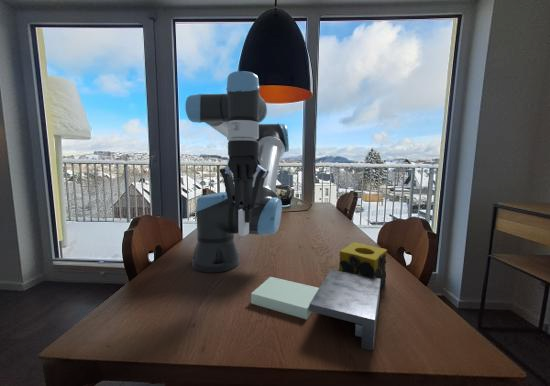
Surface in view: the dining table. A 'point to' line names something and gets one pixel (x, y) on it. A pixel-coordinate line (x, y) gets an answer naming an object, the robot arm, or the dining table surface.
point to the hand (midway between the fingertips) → (243, 234)
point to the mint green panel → (284, 297)
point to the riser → (350, 302)
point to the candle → (364, 261)
